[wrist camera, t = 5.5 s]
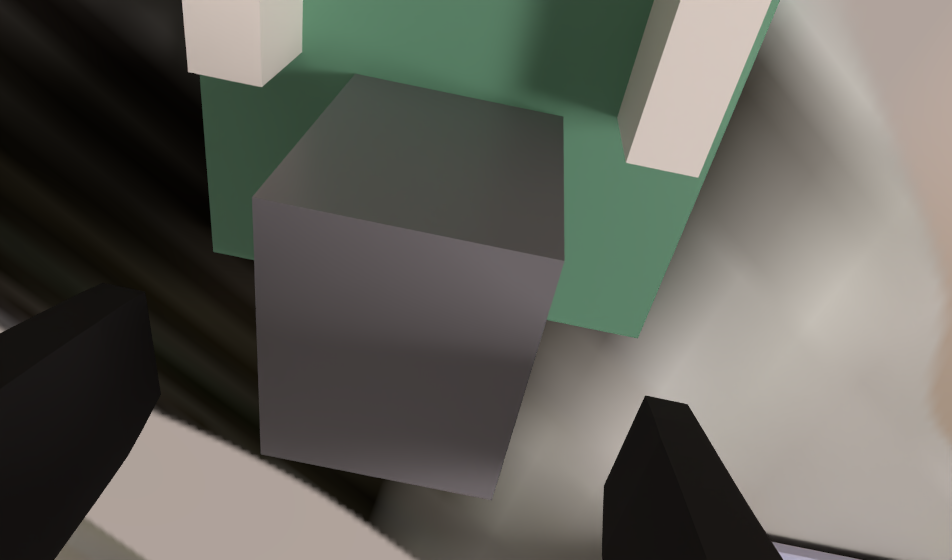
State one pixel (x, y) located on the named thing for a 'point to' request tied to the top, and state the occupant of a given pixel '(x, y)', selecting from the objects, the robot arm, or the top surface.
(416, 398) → the plug block
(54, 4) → the top surface
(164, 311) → the top surface
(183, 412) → the top surface
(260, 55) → the board
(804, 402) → the top surface
